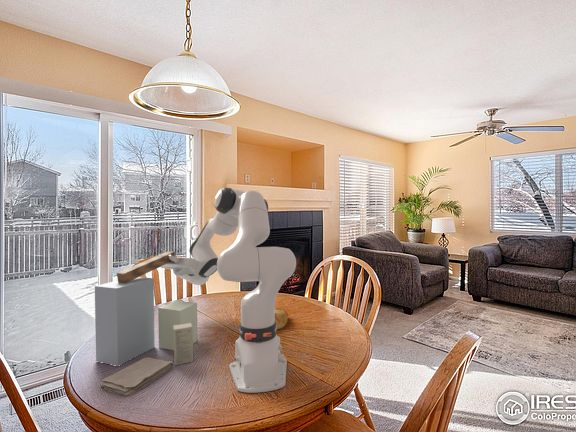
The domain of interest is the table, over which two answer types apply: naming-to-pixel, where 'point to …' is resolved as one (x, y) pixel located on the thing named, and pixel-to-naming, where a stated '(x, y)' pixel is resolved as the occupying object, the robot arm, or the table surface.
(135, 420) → the table surface
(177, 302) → the step block
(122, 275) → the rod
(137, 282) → the shelf stand
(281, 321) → the croissant
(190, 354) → the skincare box
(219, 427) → the table surface
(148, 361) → the washcloth
